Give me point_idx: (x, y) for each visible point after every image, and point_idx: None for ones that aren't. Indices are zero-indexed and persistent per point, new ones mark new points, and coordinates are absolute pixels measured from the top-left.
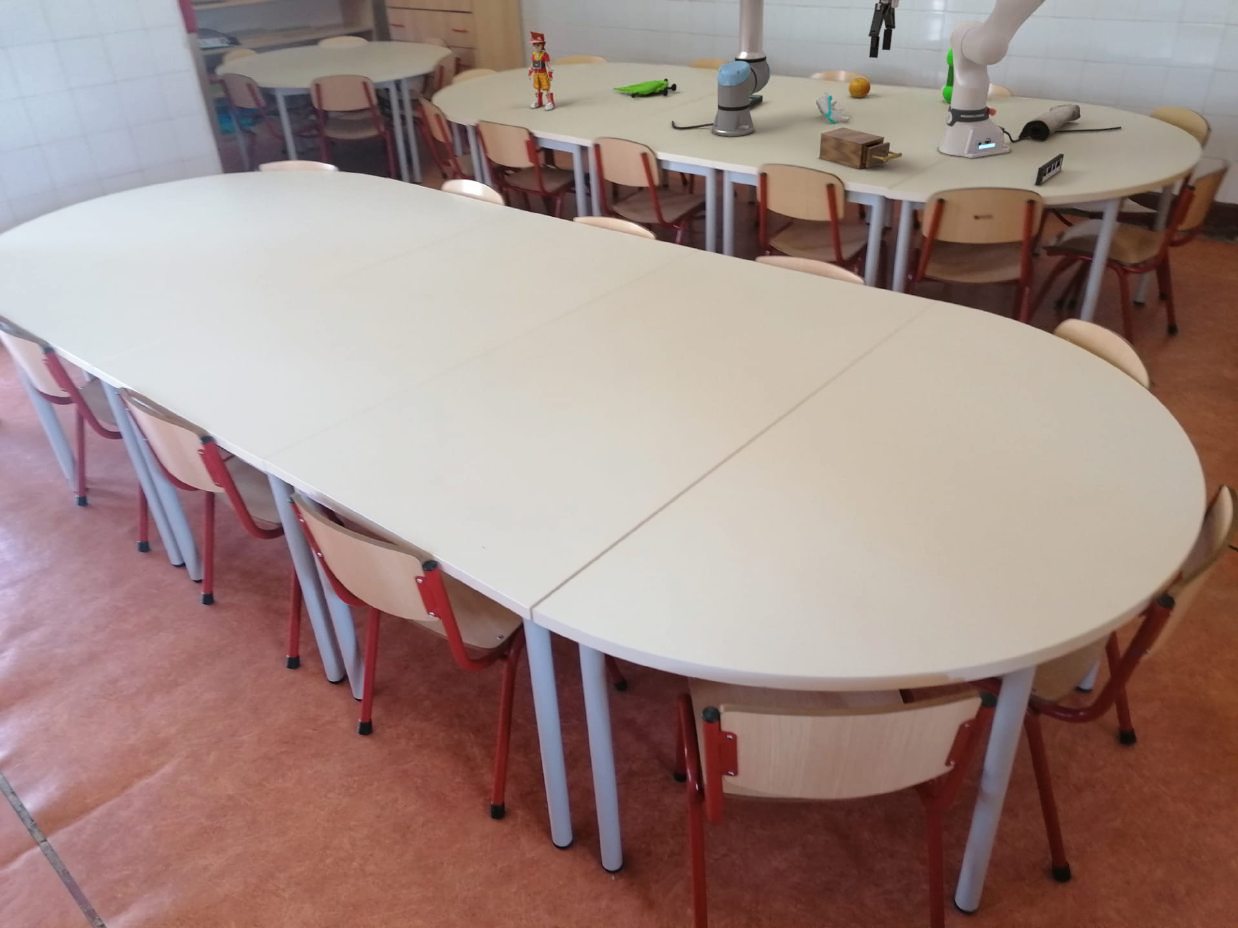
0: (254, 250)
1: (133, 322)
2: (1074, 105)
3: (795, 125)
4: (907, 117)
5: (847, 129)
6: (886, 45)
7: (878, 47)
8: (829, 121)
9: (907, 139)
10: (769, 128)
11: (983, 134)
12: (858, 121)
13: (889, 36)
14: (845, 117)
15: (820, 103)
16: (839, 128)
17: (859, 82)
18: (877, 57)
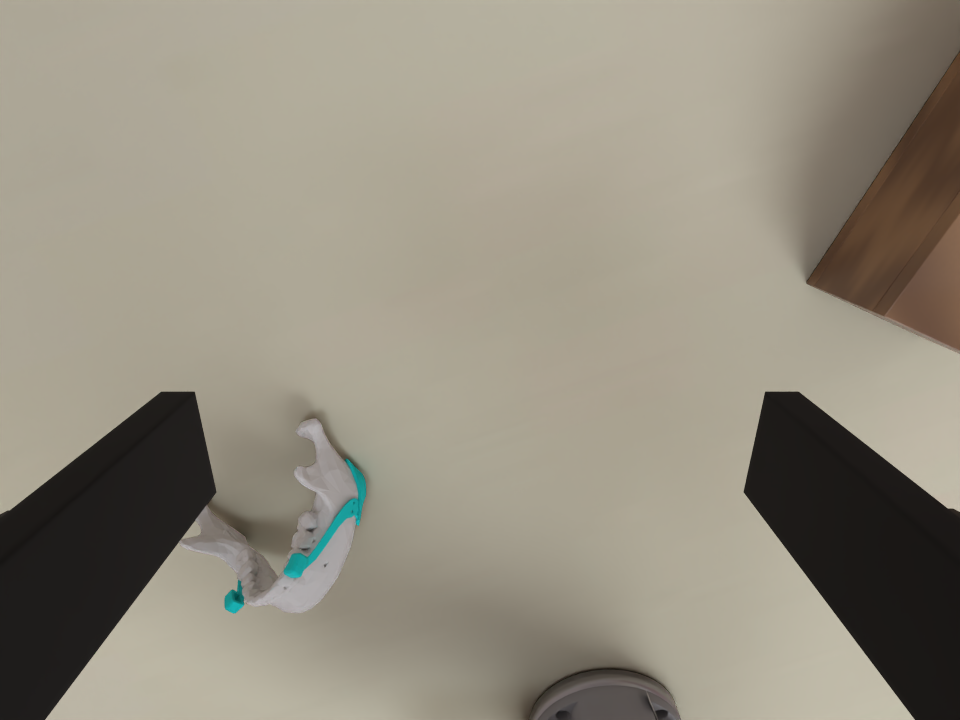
0: None
1: None
2: None
3: (442, 581)
4: (57, 173)
5: (932, 278)
6: (170, 478)
7: (871, 473)
8: (364, 484)
9: (493, 22)
10: (519, 641)
11: None
12: (264, 380)
13: (57, 549)
14: (315, 437)
15: (329, 582)
16: (912, 327)
17: None
18: (776, 394)
